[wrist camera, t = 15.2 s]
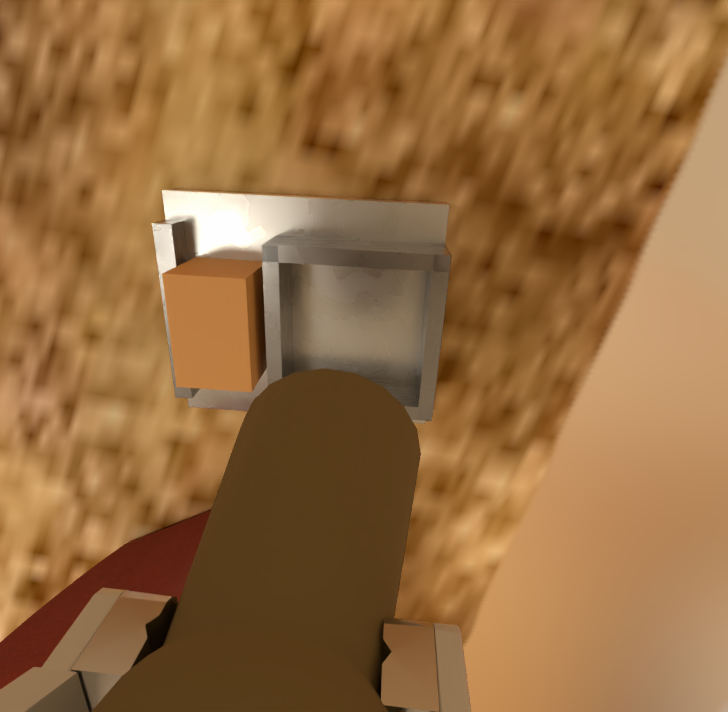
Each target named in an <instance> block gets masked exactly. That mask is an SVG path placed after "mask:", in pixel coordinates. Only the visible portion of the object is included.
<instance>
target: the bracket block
mask: <svg viewBox="0 0 728 712" xmlns="http://www.w3.org/2000/svg"><path fill="white" fill-rule="evenodd" d="M162 278H163V286H164V294H165V302H166V309H167V317H168V325H169V333H170V341H171V348H172V356H173V364H174V372H175V379H176V387H185V388H199V389H213V390H227V391H240V392H252V391H253V390H254V388H255V386H256V385H257V383H258V382H259V380H260V378H261V377H262V375H263V374H264V372H265V370H266V369H267V360H266V337H265V315H264V292H263V270H262V261H250V260H234V259H217V258H201V257H195V258H193V259H191V260H189V261H187V262H185V263H183V264H181V265H179V266H177V267H175V268H172V269H170V270H168V271H166V272H164V273H162Z"/></svg>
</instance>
